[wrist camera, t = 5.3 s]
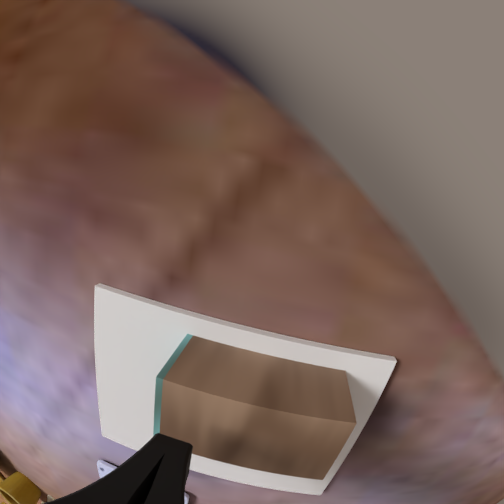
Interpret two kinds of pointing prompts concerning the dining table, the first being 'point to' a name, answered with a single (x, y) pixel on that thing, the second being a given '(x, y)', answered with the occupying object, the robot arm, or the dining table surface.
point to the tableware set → (20, 490)
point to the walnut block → (254, 408)
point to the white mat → (186, 322)
